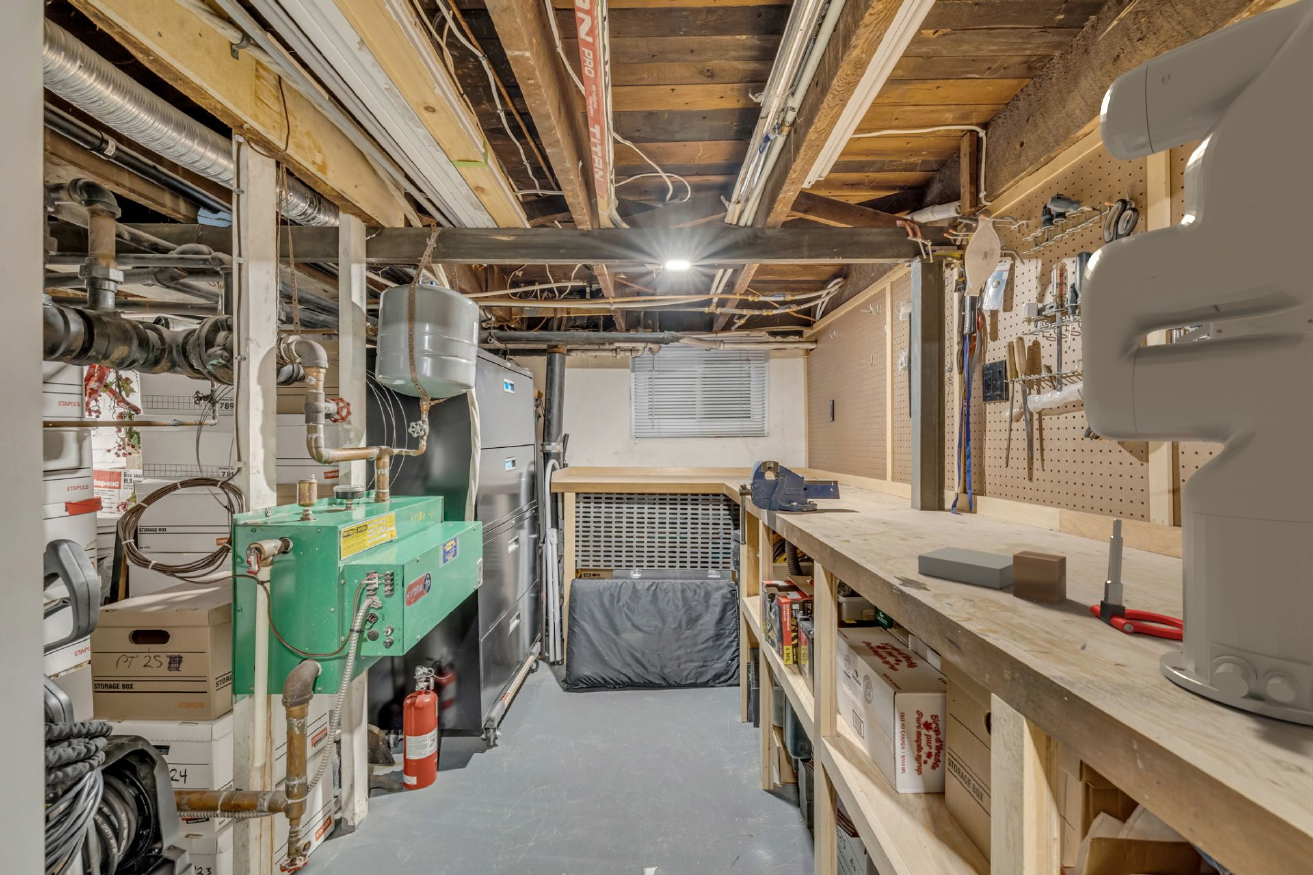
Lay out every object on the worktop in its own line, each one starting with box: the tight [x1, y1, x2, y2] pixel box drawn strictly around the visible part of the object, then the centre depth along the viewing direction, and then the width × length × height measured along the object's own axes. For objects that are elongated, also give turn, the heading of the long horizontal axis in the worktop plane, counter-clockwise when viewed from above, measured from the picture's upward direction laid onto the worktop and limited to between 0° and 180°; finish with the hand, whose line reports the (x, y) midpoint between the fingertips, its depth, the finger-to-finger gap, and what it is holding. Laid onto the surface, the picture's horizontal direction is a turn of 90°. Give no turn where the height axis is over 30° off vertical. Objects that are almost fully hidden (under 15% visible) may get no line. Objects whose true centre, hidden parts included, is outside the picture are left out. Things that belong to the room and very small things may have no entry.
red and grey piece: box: [1089, 518, 1183, 641], centre depth 61 cm, size 8×13×9 cm
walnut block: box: [1012, 550, 1067, 606], centre depth 73 cm, size 5×5×6 cm
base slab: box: [917, 546, 1013, 589], centre depth 85 cm, size 12×12×3 cm
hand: (1262, 387), depth 73 cm, fingers open, 9 cm apart
